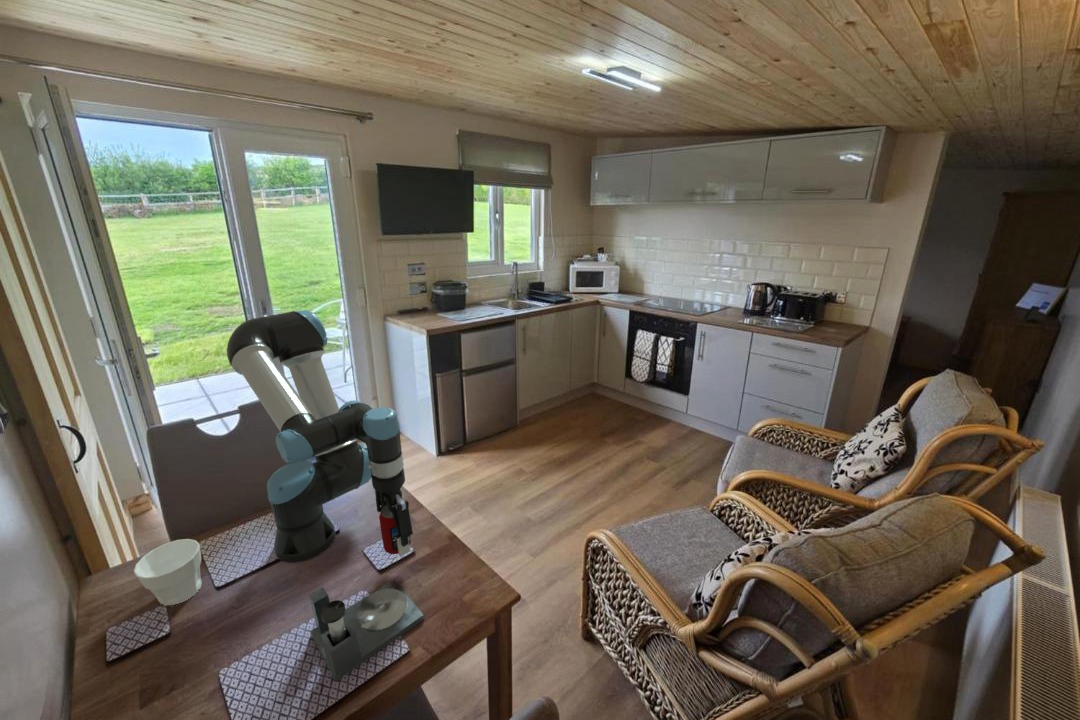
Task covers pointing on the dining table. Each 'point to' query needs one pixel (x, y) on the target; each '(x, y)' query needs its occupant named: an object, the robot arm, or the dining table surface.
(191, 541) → the cup
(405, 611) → the press
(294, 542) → the robot arm
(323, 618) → the plunger
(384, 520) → the beverage can
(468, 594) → the dining table surface
